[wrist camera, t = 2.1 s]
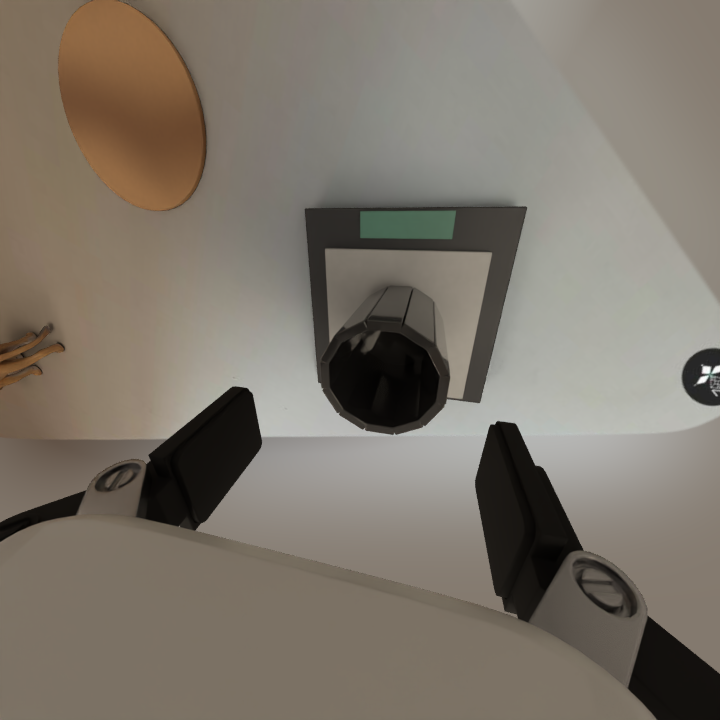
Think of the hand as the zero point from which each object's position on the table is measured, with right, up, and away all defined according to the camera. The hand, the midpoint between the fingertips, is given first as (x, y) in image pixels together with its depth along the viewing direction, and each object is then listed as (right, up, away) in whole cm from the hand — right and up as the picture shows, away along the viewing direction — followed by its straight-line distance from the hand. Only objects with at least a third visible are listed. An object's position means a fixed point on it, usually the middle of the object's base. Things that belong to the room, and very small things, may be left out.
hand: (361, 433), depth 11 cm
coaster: (-17, +21, +10) cm, 29 cm away
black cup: (+3, +5, +10) cm, 11 cm away
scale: (+3, +7, +12) cm, 14 cm away
